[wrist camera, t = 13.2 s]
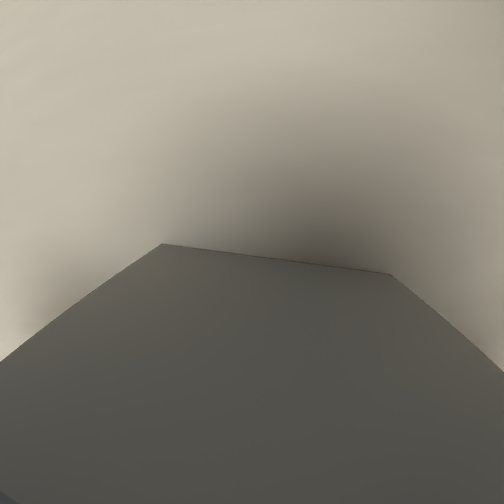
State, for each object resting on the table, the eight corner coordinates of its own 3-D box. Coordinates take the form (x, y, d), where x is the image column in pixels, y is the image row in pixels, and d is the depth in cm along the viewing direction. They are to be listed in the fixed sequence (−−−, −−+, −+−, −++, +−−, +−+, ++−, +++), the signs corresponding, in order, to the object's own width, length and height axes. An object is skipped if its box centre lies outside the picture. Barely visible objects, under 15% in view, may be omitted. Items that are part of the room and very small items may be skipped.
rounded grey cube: (390, 274, 10) (587, 462, 1) (336, 438, 11) (374, 618, 3) (161, 243, 10) (-76, 428, 1) (160, 419, 11) (92, 599, 3)
